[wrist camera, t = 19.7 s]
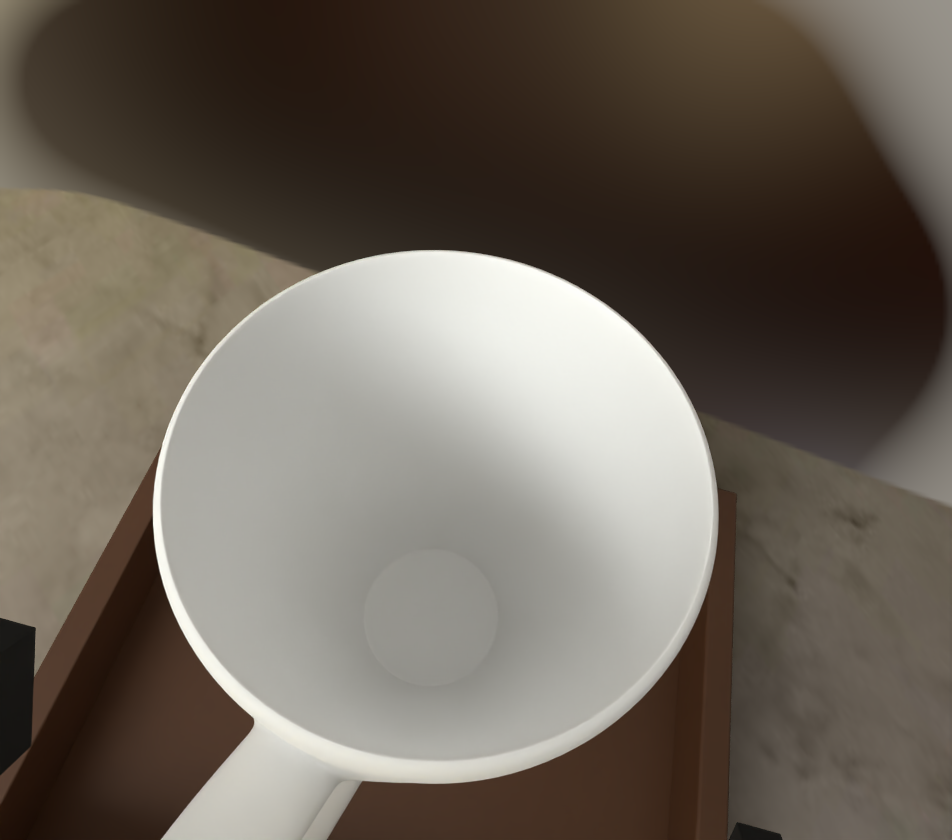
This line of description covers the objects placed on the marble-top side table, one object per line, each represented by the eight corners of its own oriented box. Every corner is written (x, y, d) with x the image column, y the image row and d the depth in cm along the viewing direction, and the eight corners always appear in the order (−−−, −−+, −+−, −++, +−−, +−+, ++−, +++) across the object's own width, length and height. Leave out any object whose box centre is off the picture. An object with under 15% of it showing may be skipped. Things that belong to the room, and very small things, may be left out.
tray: (700, 523, 22) (738, 492, 20) (668, 1077, 15) (720, 1143, 13) (231, 406, 23) (207, 360, 20) (-9, 882, 16) (-94, 906, 13)
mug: (389, 447, 22) (365, 176, 12) (607, 565, 20) (793, 374, 10) (138, 804, 16) (-321, 877, 6) (413, 1000, 15) (404, 1513, 5)
